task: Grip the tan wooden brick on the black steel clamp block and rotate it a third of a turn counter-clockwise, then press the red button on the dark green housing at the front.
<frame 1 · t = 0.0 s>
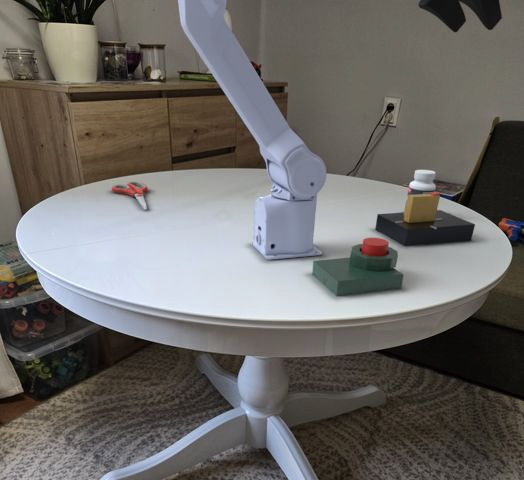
hand: (477, 25, 72), 32 cm above the table, tool tilted 50°, fingers open, 7 cm apart
clamp block: (422, 235, 89), on the table
button box: (355, 281, 69), on the table
start button: (374, 247, 68), point 4 cm above the table, slide at 0.1 cm
pill bottle: (416, 216, 101), on the table
tan wooden brick: (421, 207, 85), point 5 cm above the table, hinge at 0.0°
scissors: (141, 198, 107), on the table
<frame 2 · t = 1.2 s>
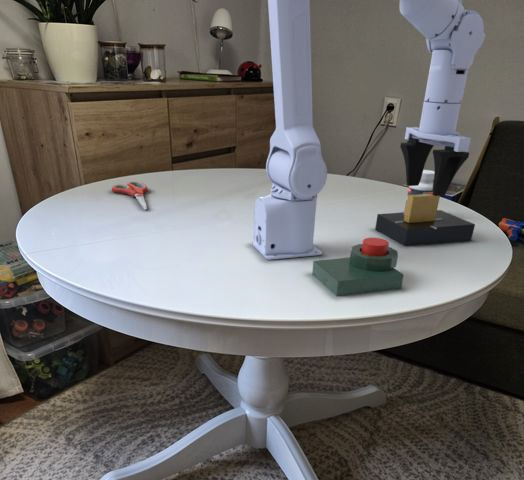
hand: (425, 190, 84), 8 cm above the table, tool pointing down, fingers open, 7 cm apart
nothing on the table moved.
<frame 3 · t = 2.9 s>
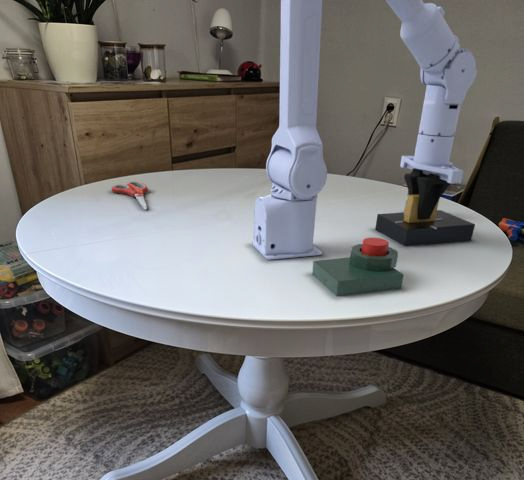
hand: (419, 217, 86), 4 cm above the table, tool pointing down, fingers closed on tan wooden brick, 2 cm apart
tan wooden brick: (421, 207, 85), point 5 cm above the table, hinge at 0.0°, touching gripper
everything else where it was.
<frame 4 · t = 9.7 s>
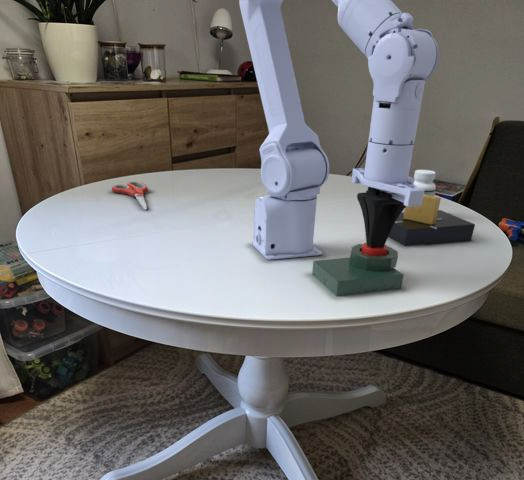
hand: (375, 246, 68), 5 cm above the table, tool pointing down, fingers closed, pressing on start button
start button: (374, 251, 69), point 4 cm above the table, slide at -0.5 cm, touching gripper
tan wooden brick: (421, 207, 85), point 5 cm above the table, hinge at 120.0°
everything else where it was.
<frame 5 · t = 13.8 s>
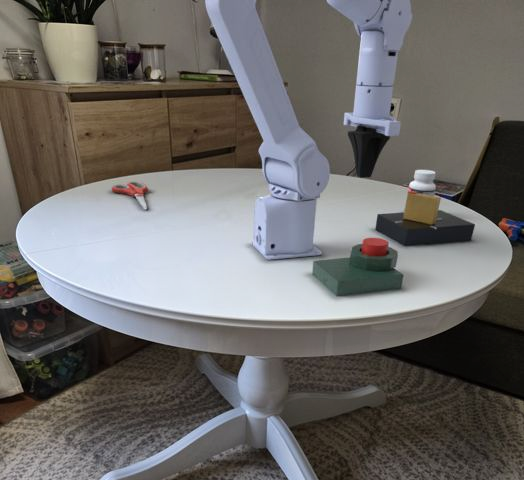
hand: (363, 176, 82), 10 cm above the table, tool pointing down, fingers closed
start button: (374, 247, 68), point 4 cm above the table, slide at 0.1 cm
everything else where it was.
at the end: tan wooden brick at +120° (first picture: +0°); start button pushed in 1.2 cm at the most during the clip, back to where it started at the end; start button slide at 0.1 cm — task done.
